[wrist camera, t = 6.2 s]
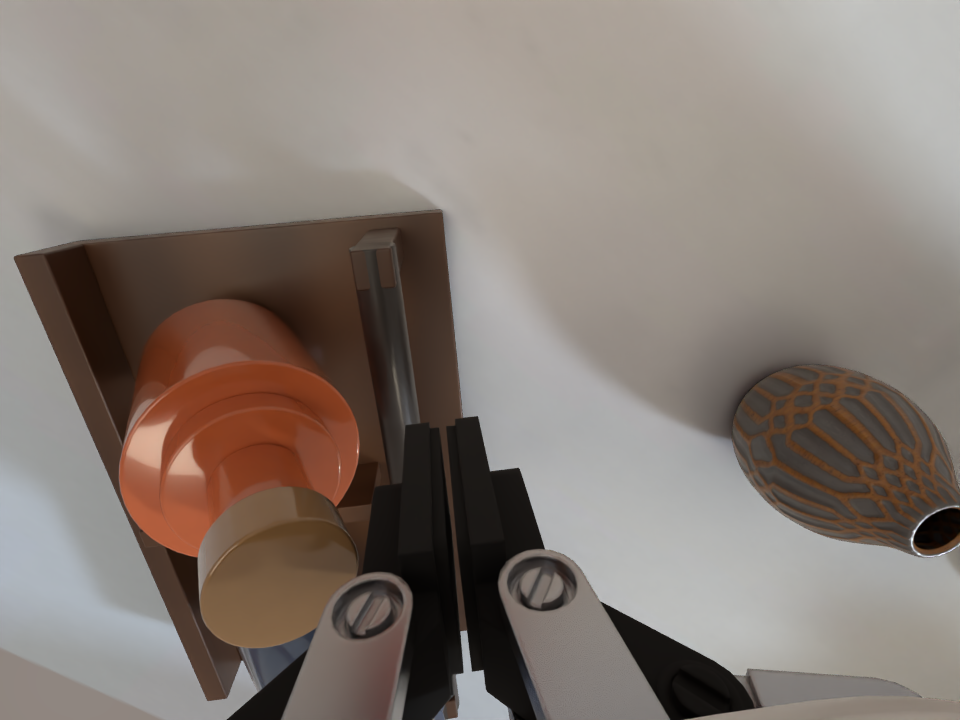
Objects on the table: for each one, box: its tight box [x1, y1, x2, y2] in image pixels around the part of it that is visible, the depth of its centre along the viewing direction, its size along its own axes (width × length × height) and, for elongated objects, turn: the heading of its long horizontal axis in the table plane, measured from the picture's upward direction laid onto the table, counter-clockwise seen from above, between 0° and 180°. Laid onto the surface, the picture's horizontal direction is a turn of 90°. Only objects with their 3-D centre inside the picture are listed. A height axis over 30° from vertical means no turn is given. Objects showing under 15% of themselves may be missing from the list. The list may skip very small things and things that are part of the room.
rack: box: [14, 209, 467, 720], centre depth 21 cm, size 14×22×6 cm, turn 4°
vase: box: [732, 365, 960, 558], centre depth 21 cm, size 7×7×9 cm
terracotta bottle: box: [119, 299, 360, 648], centre depth 14 cm, size 6×6×12 cm
